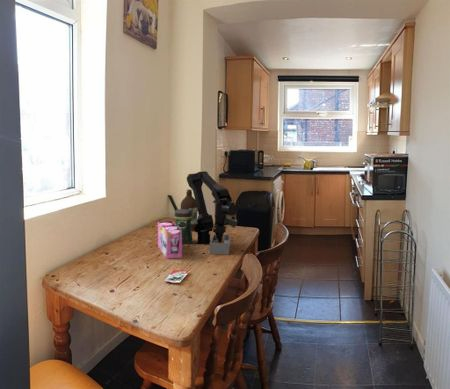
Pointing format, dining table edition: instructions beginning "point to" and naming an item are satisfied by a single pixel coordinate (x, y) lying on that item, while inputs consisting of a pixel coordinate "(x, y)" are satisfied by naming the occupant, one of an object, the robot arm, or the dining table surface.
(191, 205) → the olive oil
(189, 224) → the coffee jar
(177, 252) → the gum box
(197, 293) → the dining table surface
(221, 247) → the tray
